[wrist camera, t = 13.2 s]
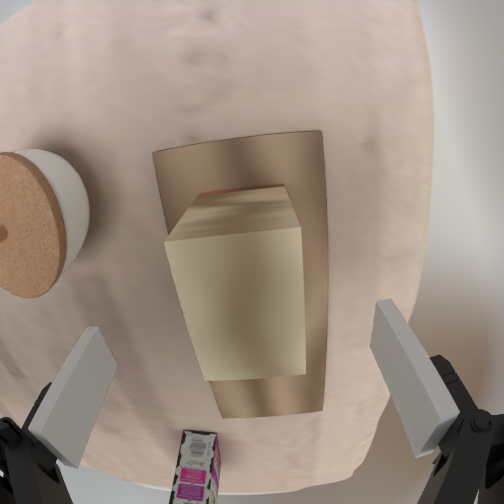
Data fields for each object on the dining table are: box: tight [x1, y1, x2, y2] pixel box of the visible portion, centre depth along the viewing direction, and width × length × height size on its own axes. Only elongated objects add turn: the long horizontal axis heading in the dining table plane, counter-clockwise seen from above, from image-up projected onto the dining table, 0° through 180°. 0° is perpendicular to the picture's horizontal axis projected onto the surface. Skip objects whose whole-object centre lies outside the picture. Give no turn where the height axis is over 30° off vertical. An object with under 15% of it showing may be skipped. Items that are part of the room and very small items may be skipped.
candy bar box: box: [169, 430, 221, 504], centre depth 30 cm, size 11×5×16 cm, turn 179°
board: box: [152, 131, 328, 418], centre depth 26 cm, size 12×30×1 cm, turn 7°
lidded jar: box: [0, 149, 90, 298], centre depth 18 cm, size 11×11×9 cm
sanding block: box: [164, 184, 306, 381], centre depth 19 cm, size 6×9×9 cm, turn 7°
